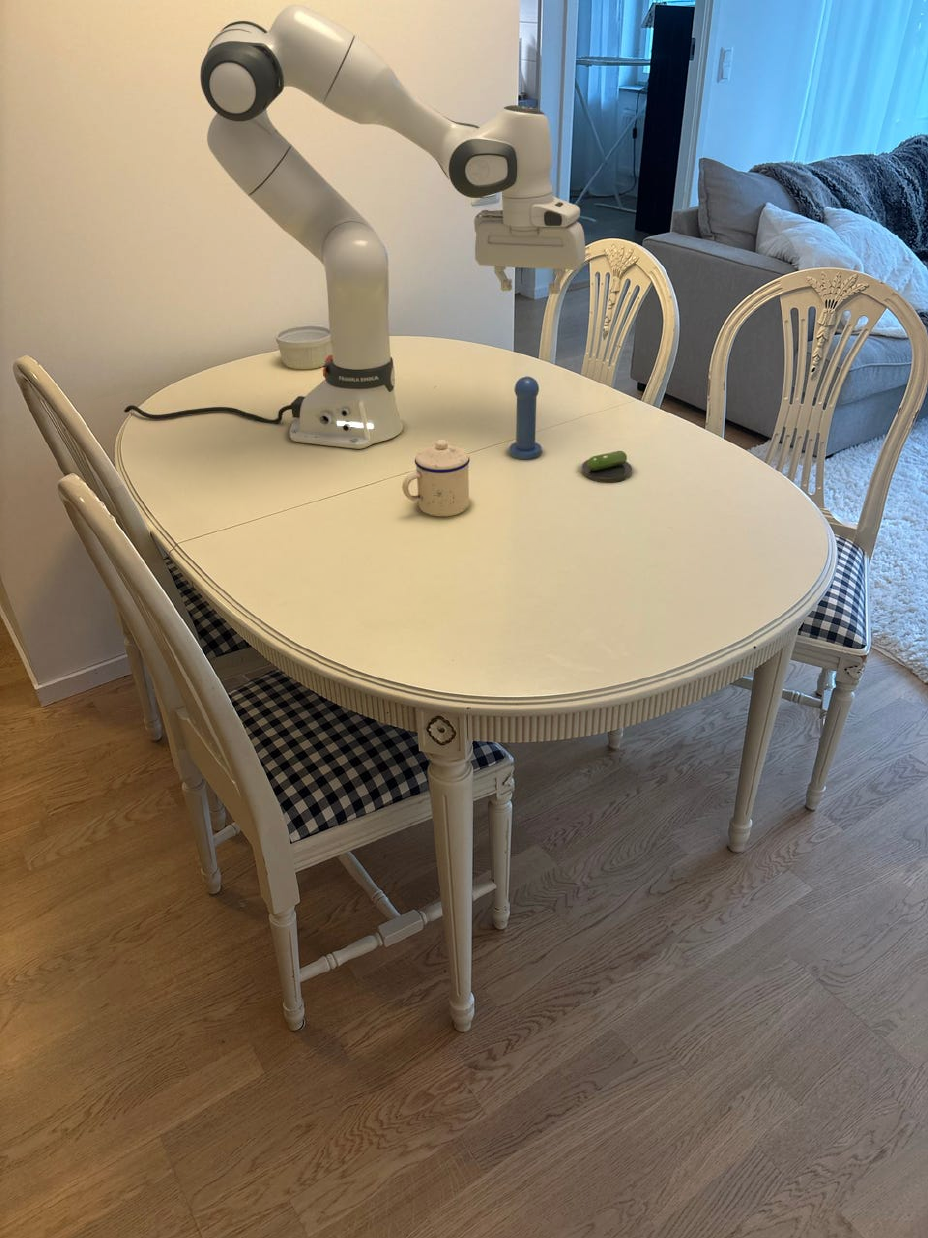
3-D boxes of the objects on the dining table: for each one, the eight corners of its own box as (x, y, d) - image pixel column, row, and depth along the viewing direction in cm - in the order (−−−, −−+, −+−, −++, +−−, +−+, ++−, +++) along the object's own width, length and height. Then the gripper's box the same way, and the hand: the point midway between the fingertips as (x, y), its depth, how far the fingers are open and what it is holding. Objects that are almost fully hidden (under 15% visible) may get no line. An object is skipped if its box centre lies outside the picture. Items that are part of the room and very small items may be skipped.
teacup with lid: (453, 488, 160) (451, 426, 154) (480, 509, 154) (479, 444, 147) (392, 506, 156) (388, 442, 149) (418, 527, 149) (414, 462, 142)
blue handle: (508, 459, 170) (509, 382, 162) (510, 445, 175) (511, 371, 167) (540, 460, 170) (543, 383, 161) (541, 446, 174) (544, 371, 166)
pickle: (597, 486, 160) (599, 468, 158) (572, 466, 167) (573, 449, 165) (641, 476, 163) (643, 458, 161) (614, 457, 170) (615, 440, 168)
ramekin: (271, 370, 212) (267, 340, 208) (289, 352, 223) (286, 323, 219) (326, 372, 210) (323, 342, 206) (342, 354, 221) (339, 325, 217)
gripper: (466, 213, 161) (471, 293, 169) (576, 216, 153) (576, 300, 161) (480, 205, 165) (485, 283, 173) (588, 207, 157) (588, 289, 165)
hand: (530, 291), depth 167 cm, fingers open, 8 cm apart
